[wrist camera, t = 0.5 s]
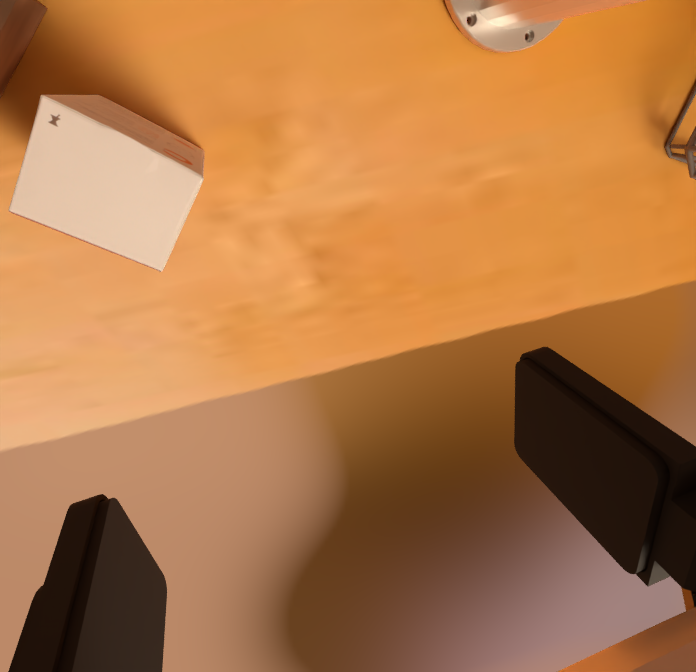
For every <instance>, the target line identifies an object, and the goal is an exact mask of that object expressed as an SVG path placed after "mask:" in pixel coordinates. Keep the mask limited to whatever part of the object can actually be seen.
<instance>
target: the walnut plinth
mask: <svg viewBox="0 0 696 672" xmlns="http://www.w3.org/2000/svg"><path fill="white" fill-rule="evenodd" d="M46 10H47V8H46V7H45V6H44V5H42V4H41V3H40V2H38V1H37V0H0V98H1V96H2V94H3V92H4V90H5V88H6V86H7V84H8V83H9V81H10V79H11V77H12V75H13V73H14V71H15V69H16V67H17V65H18V64H19V62H20V60H21V58H22V56H23V54H24V52H25V50H26V48H27V46H28V44H29V43H30V41H31V39H32V37H33V35H34V33H35V31H36V29H37V27H38V25H39V23H40V22H41V20H42V18H43V16H44V14H45V12H46Z"/></svg>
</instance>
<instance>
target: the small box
mask: <svg viewBox="0 0 696 672" xmlns="http://www.w3.org/2000/svg"><path fill="white" fill-rule="evenodd" d="M203 169H204V150H203V149H201V148H199V147H197V146H195V145H194V144H192V143H190V142H188V141H186V140H184V139H183V138H181V137H179V136H177V135H175V134H173V133H171V132H170V131H168V130H166V129H164V128H162V127H160V126H158V125H156V124H154V123H153V122H151V121H149V120H147V119H145V118H143V117H141V116H139V115H138V114H136V113H134V112H132V111H130V110H128V109H126V108H124V107H122V106H120V105H119V104H117V103H115V102H113V101H111V100H109V99H107V98H105V97H103V96H101V95H41V96H40V100H39V104H38V108H37V112H36V116H35V120H34V123H33V127H32V131H31V134H30V138H29V142H28V145H27V149H26V152H25V156H24V159H23V163H22V166H21V170H20V174H19V177H18V180H17V183H16V187H15V190H14V194H13V197H12V201H11V204H10V207H9V212H11V213H13V214H16V215H18V216H21V217H23V218H26V219H28V220H31V221H33V222H36V223H38V224H41V225H44V226H46V227H49V228H51V229H54V230H56V231H59V232H61V233H64V234H66V235H69V236H71V237H74V238H77V239H79V240H82V241H84V242H87V243H89V244H92V245H94V246H97V247H100V248H102V249H104V250H107V251H109V252H112V253H114V254H117V255H120V256H122V257H125V258H127V259H130V260H133V261H135V262H138V263H140V264H143V265H145V266H148V267H150V268H153V269H156V270H158V271H160V272H161V271H163V270H164V268H165V265H166V263H167V261H168V259H169V256H170V254H171V252H172V250H173V247H174V245H175V243H176V241H177V239H178V236H179V234H180V232H181V230H182V227H183V225H184V223H185V221H186V218H187V216H188V214H189V212H190V209H191V207H192V205H193V203H194V200H195V198H196V196H197V194H198V191H199V189H200V187H201V184H202V182H203Z"/></svg>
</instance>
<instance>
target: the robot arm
mask: <svg viewBox="0 0 696 672" xmlns="http://www.w3.org/2000/svg"><path fill="white" fill-rule="evenodd" d="M641 1H645V0H445V3H446V6H447V9H448V11H449V13H450V15H451V17H452V19H453V21H454V23H455V24H456V26H457V27H458V28H459V30H460V31H461V33H462V34H463V35H464V36H465V37H467V38H468V39H469V40H470V41H471V42H472V43H473V44H475V45H477V46H479V47H481V48H482V49H485V50H489V51H492V52H514V51H520V50H523V49H526V48H529V47H532V46H534V45H535V44H537V43H538V42H540V41H542V40H543V39H545V38H546V37H547V36H548V35H549V34H550V33H552V32H553V31H554V30H555V29H556V28H557V27H558V26H559V24H560V23H561V22H562V21H563V19H565V18H569V17H574V16H578V15H583V14H587V13H591V12H596V11H600V10H605V9H609V8H614V7H618V6H623V5H627V4H632V3H636V2H641ZM467 18H468V20H469V23H468V24H467ZM514 443H515V449H516V451H517V453H518V455H519V457H520V458H521V459H522V460H523V461H524V462H525V464H526V465H527V466H528V467H529V468H530V469H531V470H532V471H533V472H534V473H535V474H536V475H537V477H538V478H539V479H540V480H541V481H542V482H543V483H544V484H545V485H546V486H547V487H548V488H549V489H550V491H551V492H552V493H553V494H554V495H555V496H556V497H557V498H558V499H559V500H560V501H561V502H562V503H563V505H564V506H565V507H566V508H567V509H568V510H569V511H570V512H571V513H572V514H573V515H574V516H575V517H576V519H577V520H578V521H579V522H580V523H581V524H582V525H583V526H584V527H585V528H586V529H587V530H588V531H589V532H590V534H591V535H592V536H593V537H594V538H595V539H596V540H597V541H598V542H599V543H600V544H601V545H602V547H604V548H605V550H606V551H607V552H608V553H609V554H610V555H611V556H612V557H613V558H614V559H615V560H616V562H617V563H618V564H619V565H620V566H621V567H622V568H623V569H624V570H625V571H627V572H628V573H630V574H637V576H638V577H639V578H640V579H641V580H642V581H643V582H644V583H645V584H646V585H647V586H650V585H652V584H655V583H657V582H659V581H661V580H663V579H666V578H668V577H669V576H671V577H672V578H673V579H674V580H675V581H676V582H677V583H678V584H679V585H680V586H681V588H682V594H683V599H684V604H685V609H686V612H684V613H681V614H679V615H677V616H675V617H672V618H670V619H668V620H666V621H663V622H661V623H659V624H657V625H655V626H653V627H651V628H649V629H647V630H644V631H643V632H640V633H638V634H636V635H634V636H632V637H630V638H628V639H625V640H623V641H621V642H619V643H617V644H615V645H613V646H611V647H608V648H606V649H604V650H602V651H600V652H598V653H596V654H594V655H592V656H590V657H587V658H585V659H583V660H581V661H579V662H577V663H575V664H573V665H570V666H568V667H567V668H564V669H562V670H560V671H558V672H696V447H695V446H694V445H693V444H691V443H690V442H688V441H687V440H685V439H684V438H682V437H681V436H679V435H678V434H676V433H675V432H673V431H672V430H670V429H669V428H667V427H666V426H664V425H663V424H661V423H660V422H658V421H657V420H655V419H654V418H652V417H651V416H650V415H648V414H646V413H645V412H644V411H642V410H641V409H639V408H638V407H636V406H635V405H633V404H632V403H630V402H629V401H627V400H626V399H624V398H623V397H621V396H620V395H618V394H617V393H616V392H614V391H613V390H611V389H610V388H608V387H606V386H605V385H603V384H602V383H601V382H599V381H598V380H596V379H595V378H593V377H592V376H590V375H589V374H587V373H586V372H584V371H583V370H581V369H580V368H578V367H577V366H575V365H574V364H573V363H571V362H570V361H568V360H567V359H565V358H563V357H562V356H561V355H559V354H558V353H556V352H555V351H553V350H551V349H550V348H548V347H542V348H539V349H536V350H533V351H530V352H527V353H524V354H522V356H521V357H520V361H519V362H517V364H516V370H515V438H514ZM166 599H167V587H166V581H165V578H164V575H163V573H162V571H161V570H160V568H159V567H158V565H157V563H156V562H155V560H154V559H153V557H152V555H151V554H150V552H149V550H148V549H147V547H146V545H145V544H144V542H143V541H142V539H141V537H140V536H139V534H138V532H137V531H136V529H135V528H134V526H133V524H132V523H131V521H130V520H129V518H128V516H127V515H126V513H125V511H124V510H123V508H122V506H121V505H120V503H119V502H118V500H117V499H115V498H111V499H108V498H107V497H106V496H105V495H103V494H101V495H97V496H94V497H91V498H89V499H85V500H82V501H79V502H76V503H73V504H72V505H70V507H69V509H68V511H67V514H66V517H65V520H64V523H63V526H62V529H61V532H60V536H59V539H58V542H57V545H56V548H55V551H54V554H53V557H52V560H51V563H50V566H49V570H48V573H47V576H46V579H45V582H44V585H43V586H41V587H40V588H39V589H38V591H37V592H36V594H35V596H34V598H33V600H32V603H31V606H30V609H29V612H28V615H27V618H26V621H25V624H24V627H23V630H22V633H21V636H20V639H19V642H18V645H17V648H16V651H15V654H14V657H13V660H12V663H11V666H10V669H9V672H162V663H163V647H164V631H165V616H166Z"/></svg>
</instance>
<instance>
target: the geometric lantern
mask: <svg viewBox="0 0 696 672" xmlns="http://www.w3.org/2000/svg"><path fill="white" fill-rule="evenodd" d="M695 94H696V86H695V88H694V90H693V92H692V94H691V96H690V98H689V100H688V102H687V104H686V106H685V108H684V110H683V112H682V114H681V116H680V118H679V120H678V122H677V124H676V126H675V128H674V129H673V131H672V133H671V135H670V137H669V139H668V141H667V143H666V146H665V149H666V152H667V154H668V157H669V158H673V159H676V160H678V161H681V162H684V163H687V164H688V169H689V175H690V178H693V179H695V180H696V168H695V167H696V162H694V160H695V161H696V156H693V152H696V146H695V145H696V127H695V129H694V131H693V133H692V135H691V137H690V139H689V141H688V142H687V144H686V145H675V144H673V145H670V144H671V142H672V140H673V138H674V136H675V134H676V132H677V130H678V128H679V126H680V124H681V122H682V120H683V118H684V116H685V114H686V112H687V110H688V108H689V106H690V104H691V102H692V100H693V98H694V96H695ZM669 146H670V147H669ZM670 148H676V149H684V150H685V155H684V154H677V153H673V154H672V152H671V149H670Z"/></svg>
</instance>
